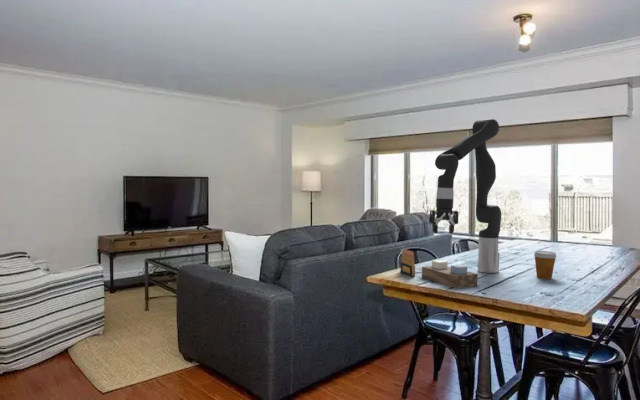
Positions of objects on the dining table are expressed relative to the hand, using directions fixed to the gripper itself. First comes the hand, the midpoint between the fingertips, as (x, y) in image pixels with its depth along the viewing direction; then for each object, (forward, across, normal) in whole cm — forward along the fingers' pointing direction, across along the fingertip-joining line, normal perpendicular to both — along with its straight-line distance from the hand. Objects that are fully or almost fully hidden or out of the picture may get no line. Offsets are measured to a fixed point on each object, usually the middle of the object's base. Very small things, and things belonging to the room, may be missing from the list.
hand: (443, 233), depth 200 cm
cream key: (+17, +1, 0) cm, 17 cm away
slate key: (+17, 0, +12) cm, 21 cm away
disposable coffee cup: (+20, -49, +13) cm, 54 cm away
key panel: (+21, 0, +6) cm, 22 cm away
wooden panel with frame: (+21, +10, -12) cm, 27 cm away
